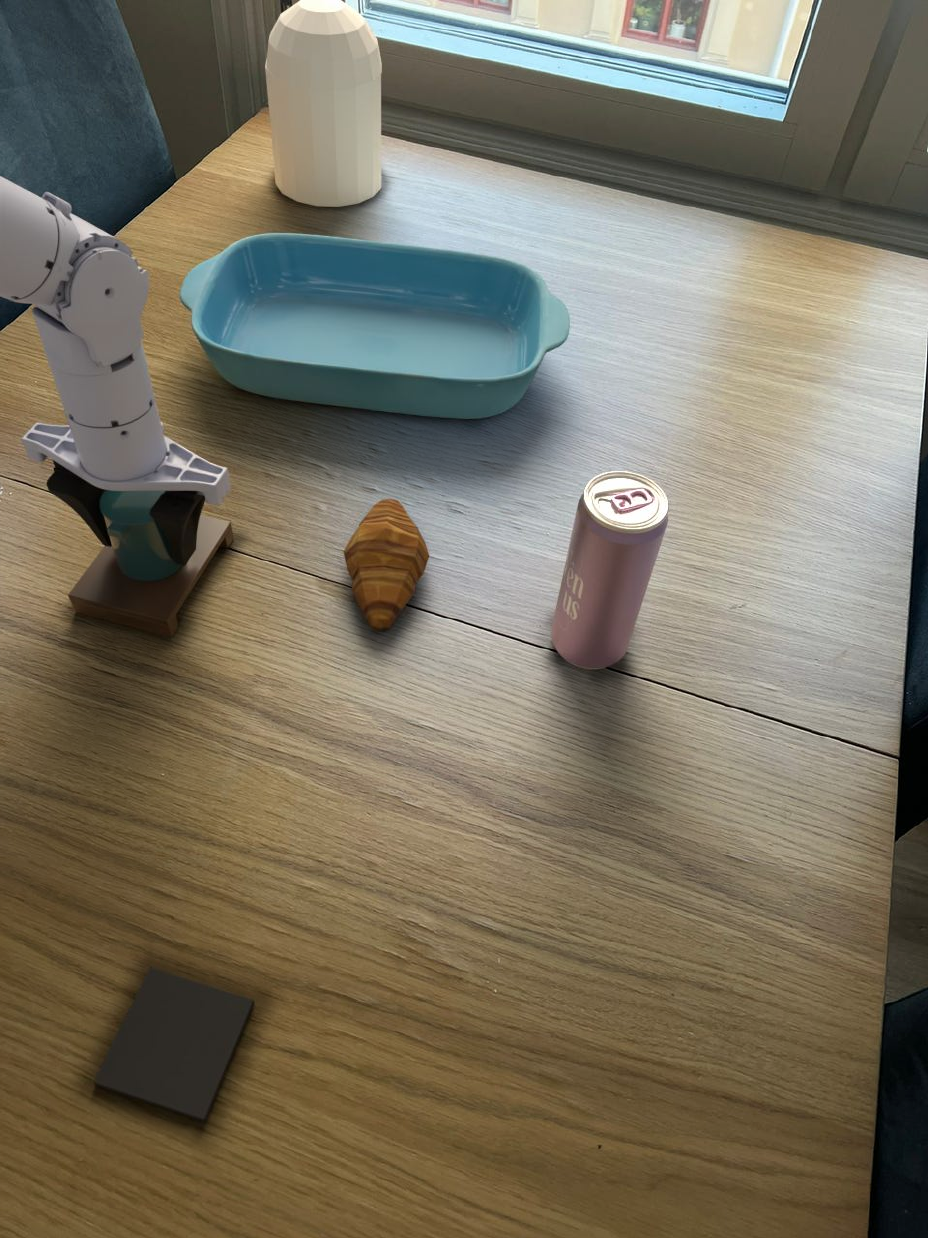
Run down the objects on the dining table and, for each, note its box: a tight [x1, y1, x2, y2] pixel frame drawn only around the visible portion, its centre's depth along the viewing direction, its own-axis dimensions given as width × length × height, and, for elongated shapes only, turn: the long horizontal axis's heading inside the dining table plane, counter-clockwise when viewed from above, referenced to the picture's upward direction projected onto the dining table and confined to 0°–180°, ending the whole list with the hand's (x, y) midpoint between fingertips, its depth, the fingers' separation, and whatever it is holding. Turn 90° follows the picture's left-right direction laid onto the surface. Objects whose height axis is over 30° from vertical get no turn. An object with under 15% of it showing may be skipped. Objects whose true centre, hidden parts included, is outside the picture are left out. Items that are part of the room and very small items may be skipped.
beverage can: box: [550, 470, 670, 670], centre depth 66 cm, size 6×6×15 cm
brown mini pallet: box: [67, 513, 234, 638], centre depth 73 cm, size 8×11×2 cm
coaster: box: [92, 967, 255, 1122], centre depth 51 cm, size 6×6×1 cm
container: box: [264, 0, 383, 208], centre depth 110 cm, size 13×13×20 cm
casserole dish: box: [179, 232, 571, 420], centre depth 91 cm, size 37×22×7 cm, turn 86°
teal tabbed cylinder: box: [99, 490, 183, 581], centre depth 70 cm, size 5×8×6 cm
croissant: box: [343, 498, 430, 632], centre depth 73 cm, size 14×7×5 cm, turn 0°
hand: (149, 546), depth 71 cm, fingers open, 5 cm apart
